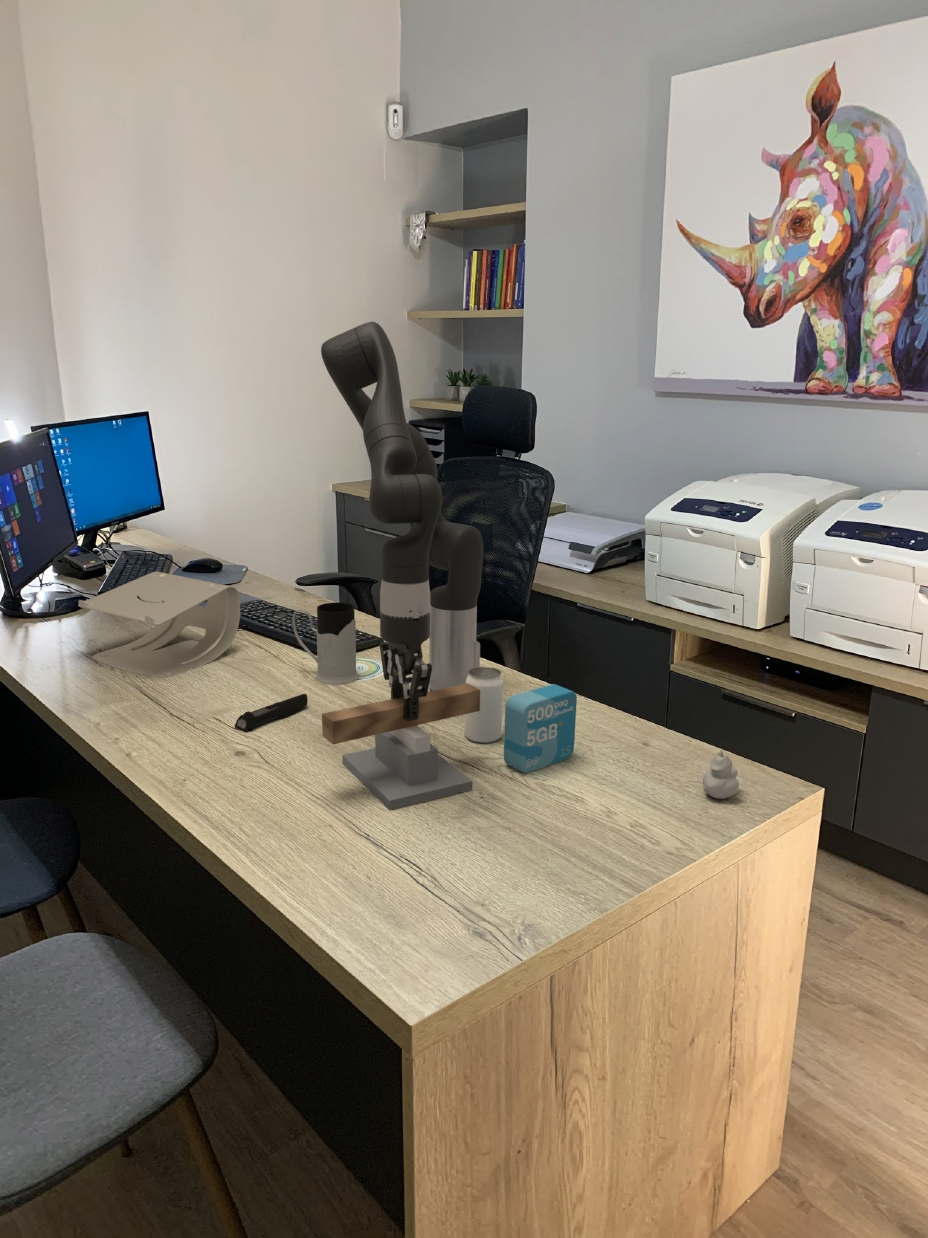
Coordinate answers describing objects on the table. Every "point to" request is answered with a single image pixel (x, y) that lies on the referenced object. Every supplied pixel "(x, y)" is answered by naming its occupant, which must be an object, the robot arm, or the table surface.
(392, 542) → the robot arm
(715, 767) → the rubber duck
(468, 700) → the walnut bar
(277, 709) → the electric trimmer
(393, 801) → the stand
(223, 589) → the portable electronic device stand
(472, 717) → the can
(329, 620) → the grey black mug
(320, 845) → the table surface
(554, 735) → the data package
